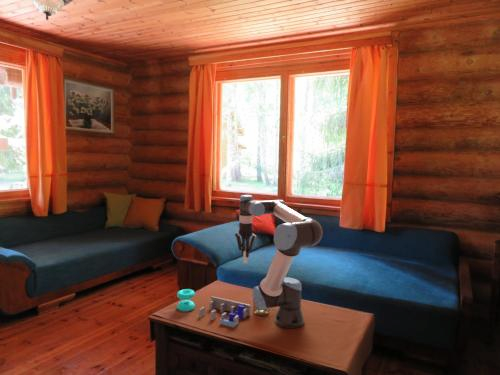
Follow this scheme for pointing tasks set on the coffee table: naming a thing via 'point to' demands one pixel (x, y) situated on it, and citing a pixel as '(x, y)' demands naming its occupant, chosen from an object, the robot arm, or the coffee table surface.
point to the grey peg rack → (227, 306)
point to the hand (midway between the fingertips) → (245, 262)
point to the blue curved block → (237, 313)
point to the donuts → (186, 304)
